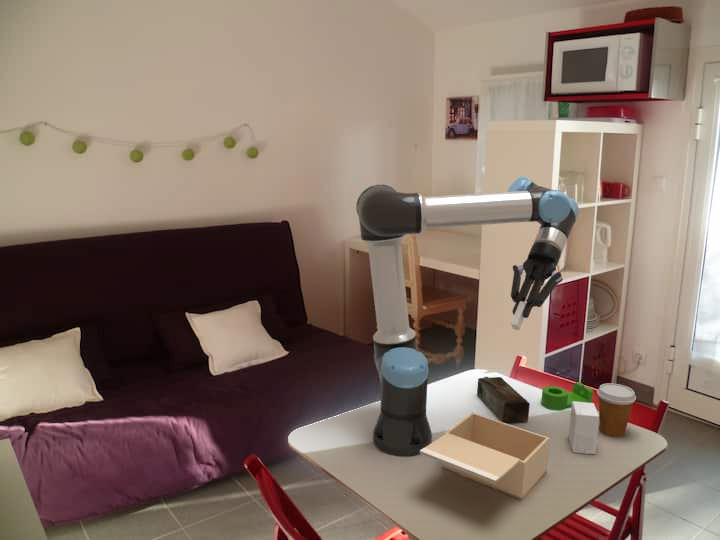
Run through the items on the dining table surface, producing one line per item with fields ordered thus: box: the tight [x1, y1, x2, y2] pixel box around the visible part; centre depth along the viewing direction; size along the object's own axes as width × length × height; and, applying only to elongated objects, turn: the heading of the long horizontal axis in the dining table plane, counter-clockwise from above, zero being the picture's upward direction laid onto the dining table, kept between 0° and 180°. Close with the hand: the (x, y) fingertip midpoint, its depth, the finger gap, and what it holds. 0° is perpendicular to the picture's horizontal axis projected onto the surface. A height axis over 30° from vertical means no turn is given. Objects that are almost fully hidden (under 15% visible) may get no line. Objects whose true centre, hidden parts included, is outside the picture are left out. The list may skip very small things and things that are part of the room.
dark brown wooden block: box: [476, 376, 531, 424], centre depth 174 cm, size 8×19×7 cm, turn 11°
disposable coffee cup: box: [596, 382, 637, 438], centre depth 161 cm, size 10×10×12 cm
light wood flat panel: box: [419, 433, 520, 484], centre depth 131 cm, size 18×1×12 cm
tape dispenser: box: [540, 381, 594, 412], centre depth 178 cm, size 15×7×5 cm, turn 113°
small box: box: [568, 401, 600, 455], centre depth 153 cm, size 8×6×10 cm
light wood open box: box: [441, 412, 550, 501], centre depth 142 cm, size 20×14×9 cm
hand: (514, 326), depth 146 cm, fingers closed
